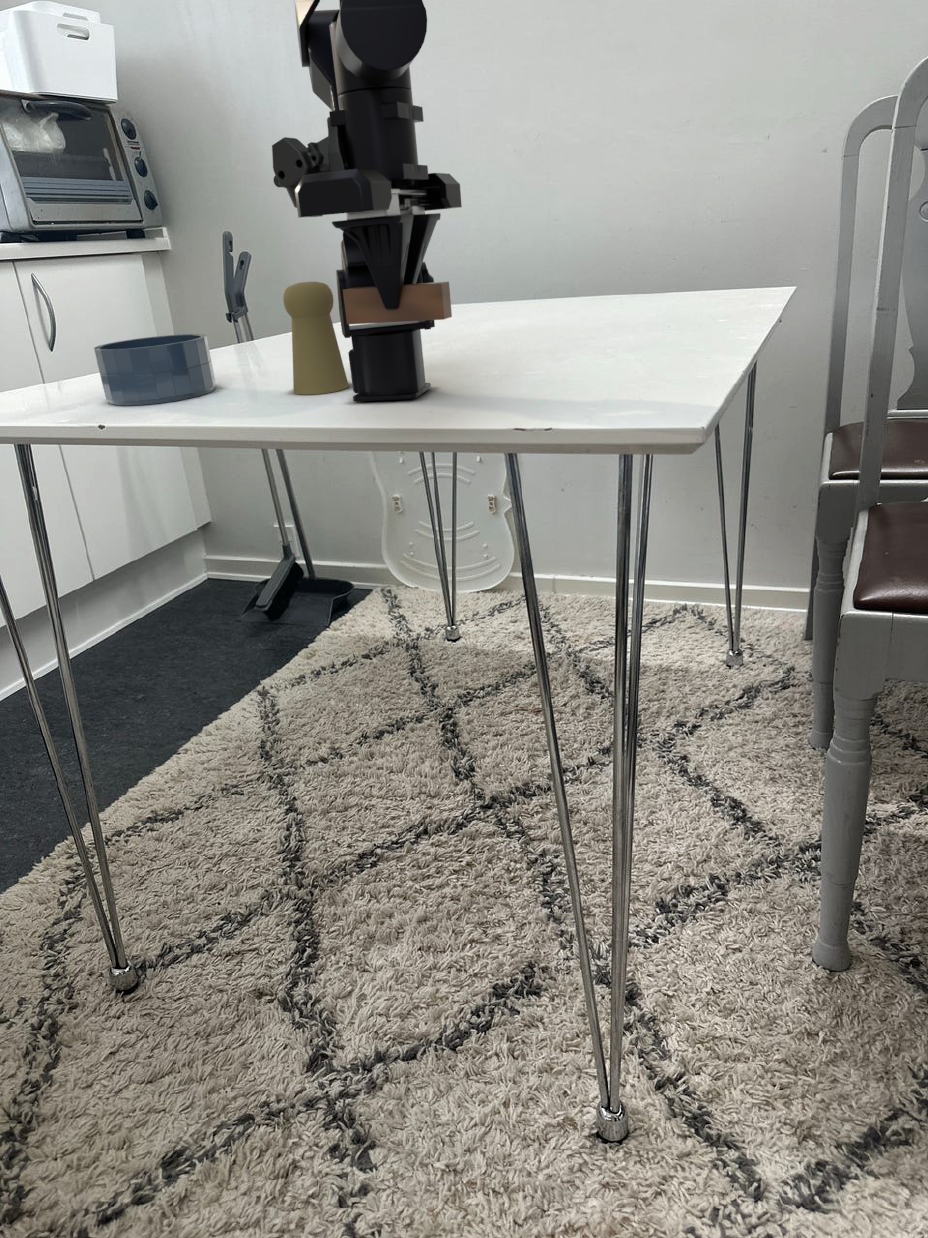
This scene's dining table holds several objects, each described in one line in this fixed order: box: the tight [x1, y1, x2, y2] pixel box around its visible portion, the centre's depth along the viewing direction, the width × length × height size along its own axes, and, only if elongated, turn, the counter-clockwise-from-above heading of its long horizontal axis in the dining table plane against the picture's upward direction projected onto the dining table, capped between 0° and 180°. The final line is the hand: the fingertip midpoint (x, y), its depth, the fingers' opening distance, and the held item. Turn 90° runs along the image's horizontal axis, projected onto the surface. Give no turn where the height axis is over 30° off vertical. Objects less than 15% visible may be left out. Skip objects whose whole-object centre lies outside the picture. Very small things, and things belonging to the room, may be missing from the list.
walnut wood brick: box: [343, 281, 453, 325], centre depth 75 cm, size 9×2×3 cm, turn 70°
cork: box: [282, 281, 350, 396], centre depth 95 cm, size 6×6×11 cm
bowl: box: [93, 333, 217, 407], centre depth 102 cm, size 12×12×6 cm
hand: (397, 307), depth 75 cm, fingers closed on walnut wood brick, 2 cm apart
